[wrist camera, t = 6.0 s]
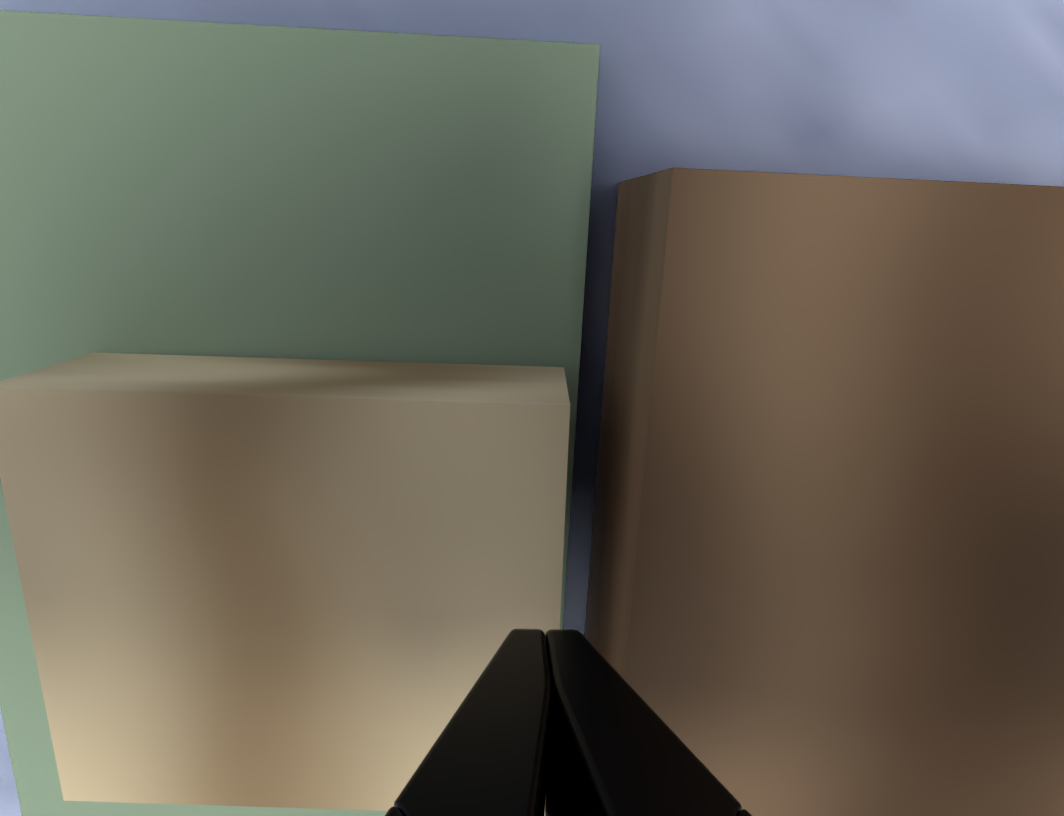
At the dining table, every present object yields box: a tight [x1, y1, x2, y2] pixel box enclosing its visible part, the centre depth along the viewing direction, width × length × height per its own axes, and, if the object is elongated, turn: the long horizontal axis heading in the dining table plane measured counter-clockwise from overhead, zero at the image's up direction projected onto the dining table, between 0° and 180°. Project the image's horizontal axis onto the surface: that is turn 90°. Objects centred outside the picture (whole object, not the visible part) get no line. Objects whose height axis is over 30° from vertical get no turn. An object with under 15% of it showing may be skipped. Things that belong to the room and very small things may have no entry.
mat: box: [0, 10, 600, 816], centre depth 13 cm, size 11×16×1 cm
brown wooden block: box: [584, 168, 1064, 816], centre depth 11 cm, size 10×12×4 cm
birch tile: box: [0, 352, 570, 816], centre depth 11 cm, size 8×7×2 cm
